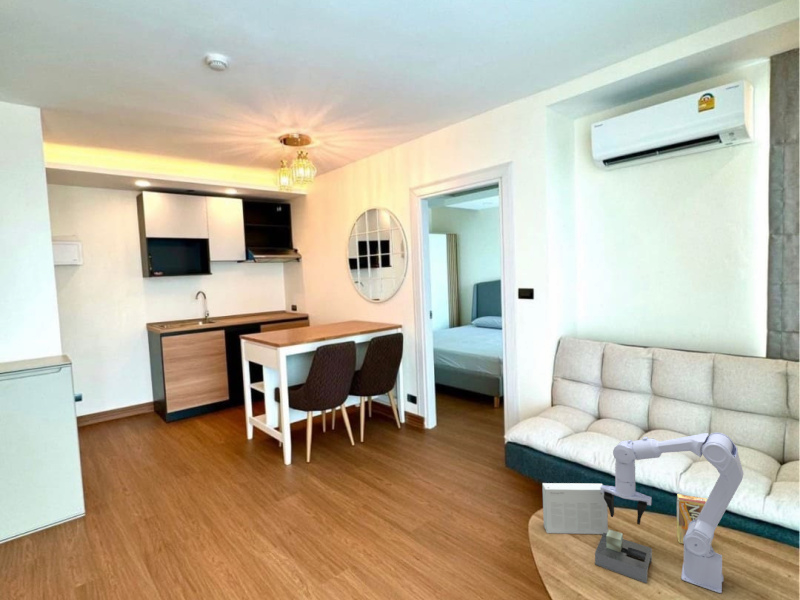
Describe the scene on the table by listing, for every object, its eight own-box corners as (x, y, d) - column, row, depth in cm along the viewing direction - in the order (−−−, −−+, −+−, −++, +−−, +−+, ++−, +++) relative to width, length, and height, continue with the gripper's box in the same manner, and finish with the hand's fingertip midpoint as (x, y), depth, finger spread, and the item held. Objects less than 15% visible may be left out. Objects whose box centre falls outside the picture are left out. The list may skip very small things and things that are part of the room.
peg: (622, 555, 134) (622, 533, 133) (620, 562, 131) (620, 540, 130) (609, 550, 136) (609, 529, 136) (606, 557, 133) (606, 535, 133)
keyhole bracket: (651, 560, 132) (651, 548, 132) (646, 583, 123) (646, 570, 122) (603, 544, 141) (603, 532, 140) (595, 564, 131) (595, 552, 131)
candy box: (707, 542, 140) (707, 497, 139) (711, 550, 136) (711, 504, 135) (676, 536, 143) (676, 493, 142) (678, 543, 139) (679, 499, 138)
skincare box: (602, 525, 151) (602, 482, 150) (608, 535, 145) (608, 490, 144) (542, 524, 153) (541, 482, 152) (546, 533, 147) (545, 489, 146)
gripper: (652, 479, 135) (652, 520, 136) (603, 468, 143) (603, 506, 144) (650, 489, 129) (650, 531, 130) (599, 477, 138) (599, 516, 139)
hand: (625, 519), depth 137 cm, fingers open, 7 cm apart
